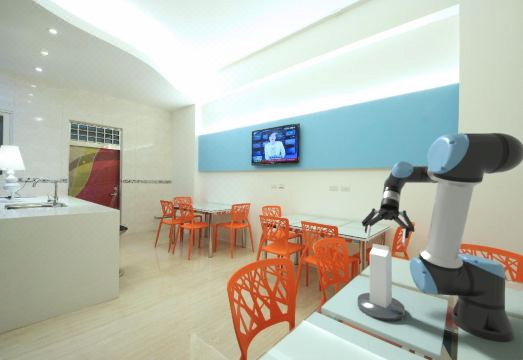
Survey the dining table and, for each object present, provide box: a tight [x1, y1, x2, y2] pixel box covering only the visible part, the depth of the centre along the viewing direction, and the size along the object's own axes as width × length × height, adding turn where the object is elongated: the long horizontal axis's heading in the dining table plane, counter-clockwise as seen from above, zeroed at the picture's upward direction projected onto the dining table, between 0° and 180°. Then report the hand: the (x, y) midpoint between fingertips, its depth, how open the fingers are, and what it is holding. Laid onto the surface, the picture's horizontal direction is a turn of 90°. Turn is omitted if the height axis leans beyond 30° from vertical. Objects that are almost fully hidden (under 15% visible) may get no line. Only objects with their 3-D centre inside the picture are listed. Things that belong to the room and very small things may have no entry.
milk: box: [369, 243, 393, 308], centre depth 90 cm, size 6×6×22 cm
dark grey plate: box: [357, 292, 406, 322], centre depth 90 cm, size 16×16×2 cm
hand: (384, 241), depth 98 cm, fingers open, 13 cm apart
